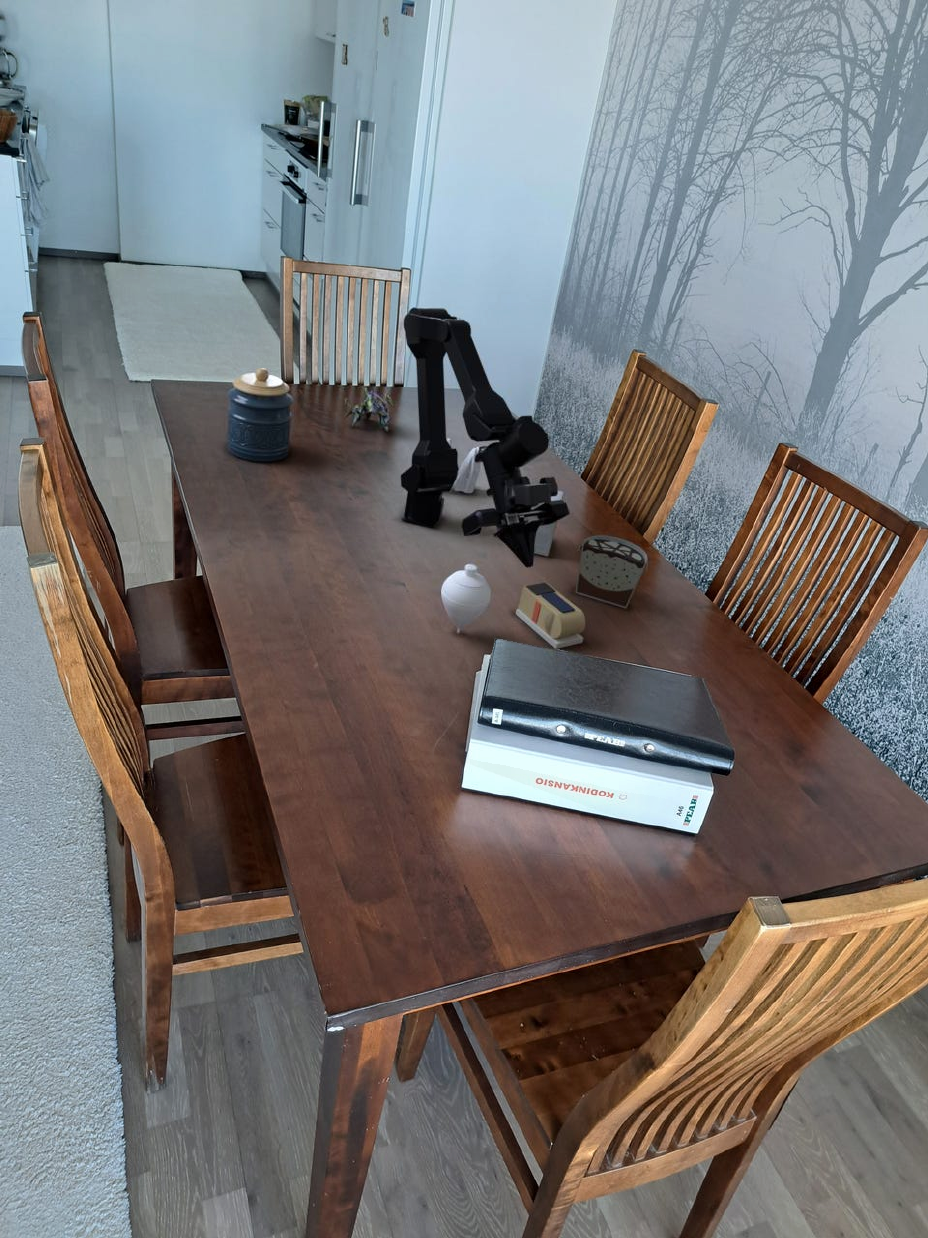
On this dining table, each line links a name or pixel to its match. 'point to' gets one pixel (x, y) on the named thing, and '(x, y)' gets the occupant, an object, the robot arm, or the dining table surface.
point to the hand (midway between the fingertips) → (529, 566)
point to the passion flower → (372, 408)
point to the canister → (259, 417)
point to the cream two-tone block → (551, 615)
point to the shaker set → (467, 472)
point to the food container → (610, 569)
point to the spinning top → (465, 596)
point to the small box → (545, 532)
